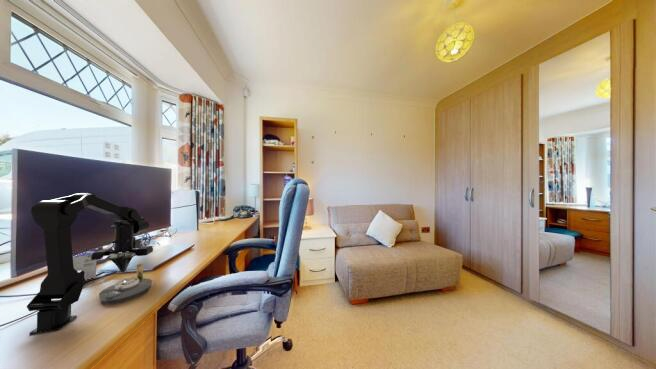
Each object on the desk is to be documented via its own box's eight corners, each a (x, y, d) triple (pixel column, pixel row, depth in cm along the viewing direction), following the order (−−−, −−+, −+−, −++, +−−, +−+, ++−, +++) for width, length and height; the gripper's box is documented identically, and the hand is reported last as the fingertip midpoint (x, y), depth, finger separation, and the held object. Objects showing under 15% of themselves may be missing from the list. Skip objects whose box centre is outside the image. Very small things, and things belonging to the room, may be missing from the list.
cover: (132, 290, 78) (133, 283, 78) (109, 293, 75) (110, 285, 75) (142, 281, 84) (143, 275, 84) (122, 284, 82) (122, 277, 82)
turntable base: (137, 300, 75) (137, 297, 75) (92, 306, 71) (92, 303, 71) (155, 284, 88) (155, 281, 88) (117, 288, 84) (117, 285, 84)
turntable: (139, 297, 75) (139, 278, 75) (86, 304, 70) (87, 284, 70) (161, 277, 91) (161, 261, 91) (119, 282, 86) (120, 265, 86)
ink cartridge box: (95, 275, 96) (95, 245, 96) (96, 278, 93) (97, 247, 93) (61, 283, 88) (61, 251, 88) (61, 287, 85) (62, 253, 85)
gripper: (159, 231, 97) (158, 262, 96) (110, 233, 91) (109, 267, 91) (146, 236, 86) (145, 272, 86) (90, 239, 80) (89, 277, 80)
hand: (123, 271), depth 86 cm, fingers closed
